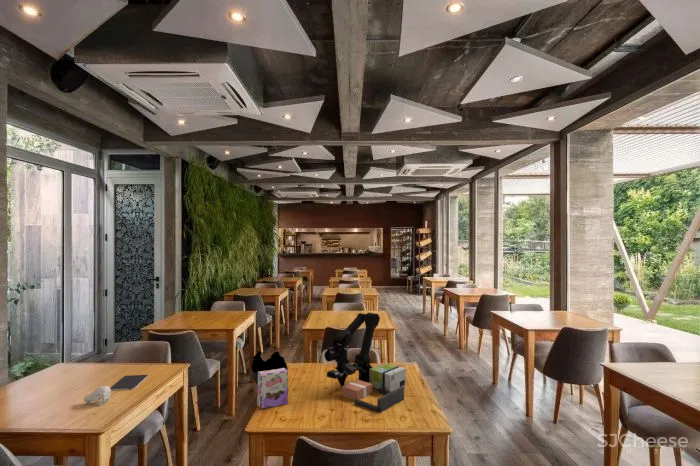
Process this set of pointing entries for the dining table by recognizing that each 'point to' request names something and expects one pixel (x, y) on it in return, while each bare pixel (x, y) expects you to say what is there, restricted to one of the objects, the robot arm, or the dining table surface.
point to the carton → (357, 390)
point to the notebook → (128, 382)
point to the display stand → (383, 400)
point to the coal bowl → (266, 364)
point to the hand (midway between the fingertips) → (342, 386)
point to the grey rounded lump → (98, 395)
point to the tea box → (387, 377)
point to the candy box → (272, 388)
